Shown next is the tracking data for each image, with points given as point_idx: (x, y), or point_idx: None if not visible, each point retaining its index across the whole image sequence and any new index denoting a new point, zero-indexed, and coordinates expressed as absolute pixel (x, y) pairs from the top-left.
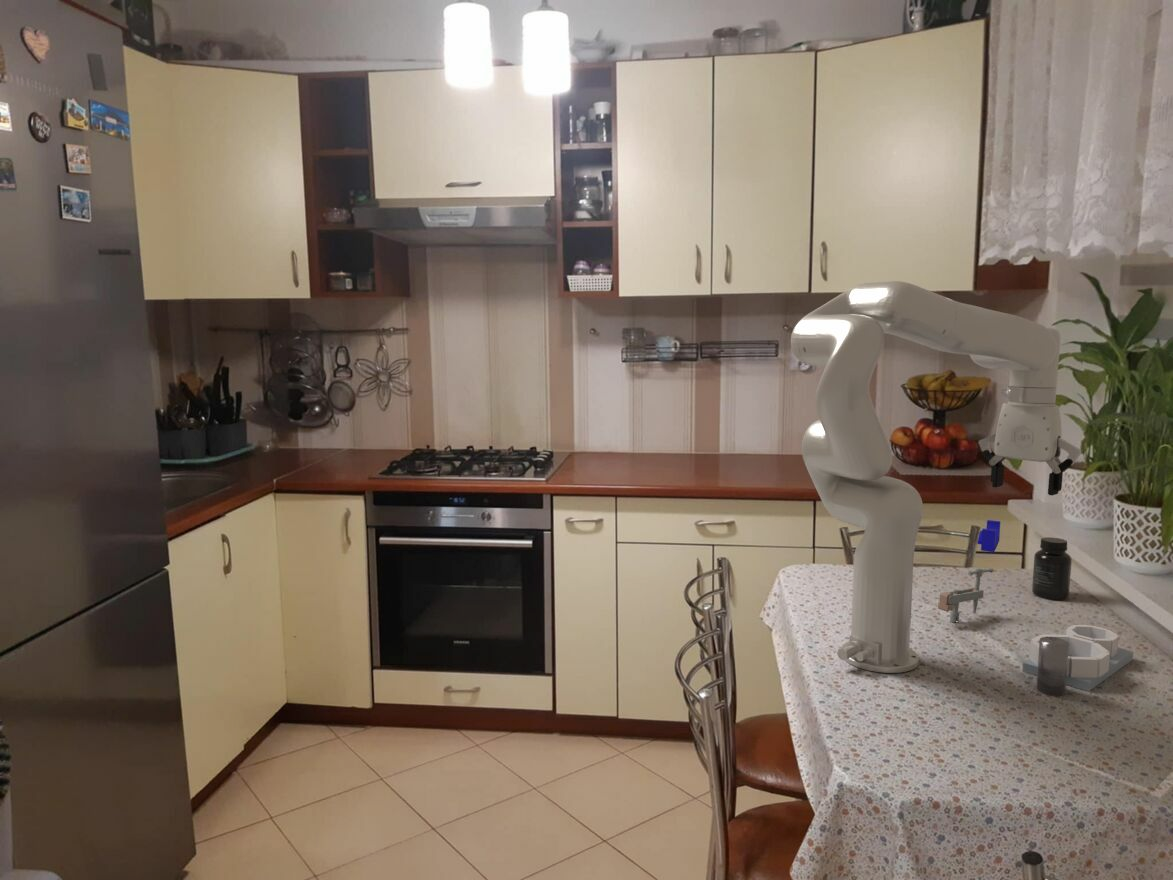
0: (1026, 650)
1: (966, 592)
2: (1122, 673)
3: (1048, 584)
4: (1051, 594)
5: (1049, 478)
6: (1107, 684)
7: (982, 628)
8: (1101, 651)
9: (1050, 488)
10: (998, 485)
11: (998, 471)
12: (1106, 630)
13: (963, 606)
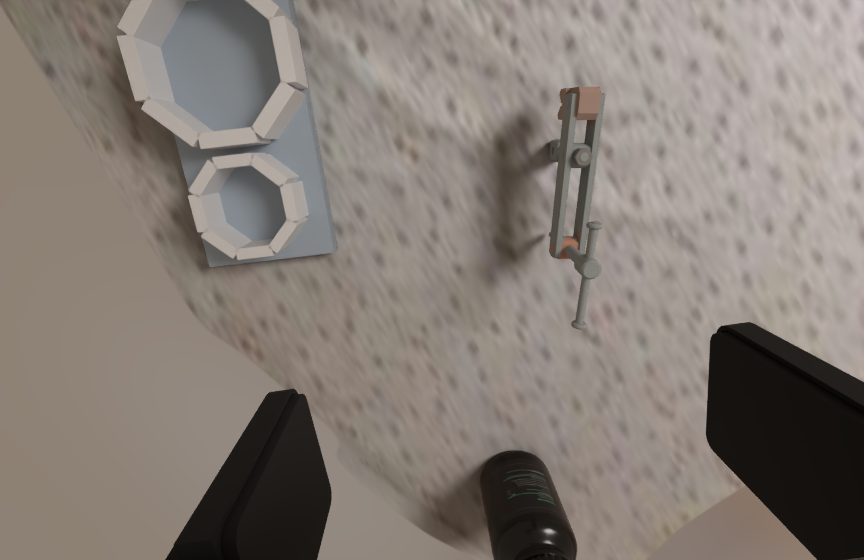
0: (361, 125)
1: (580, 216)
2: (182, 172)
3: (510, 474)
4: (499, 461)
5: (250, 490)
6: None
7: (494, 173)
8: (155, 100)
9: (265, 419)
10: (715, 371)
11: (830, 431)
12: (236, 250)
13: None
